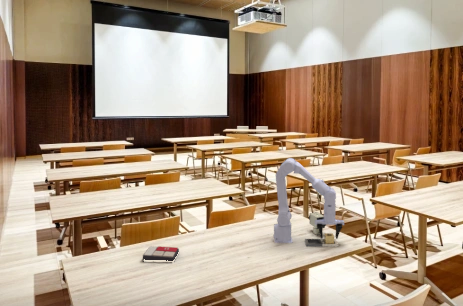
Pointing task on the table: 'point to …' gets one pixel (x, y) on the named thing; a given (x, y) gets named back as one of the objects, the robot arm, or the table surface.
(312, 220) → the pneumatic valve
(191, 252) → the table surface
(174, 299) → the table surface
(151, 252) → the grey and red box
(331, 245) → the tray
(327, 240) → the brass cube with hole
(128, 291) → the table surface
